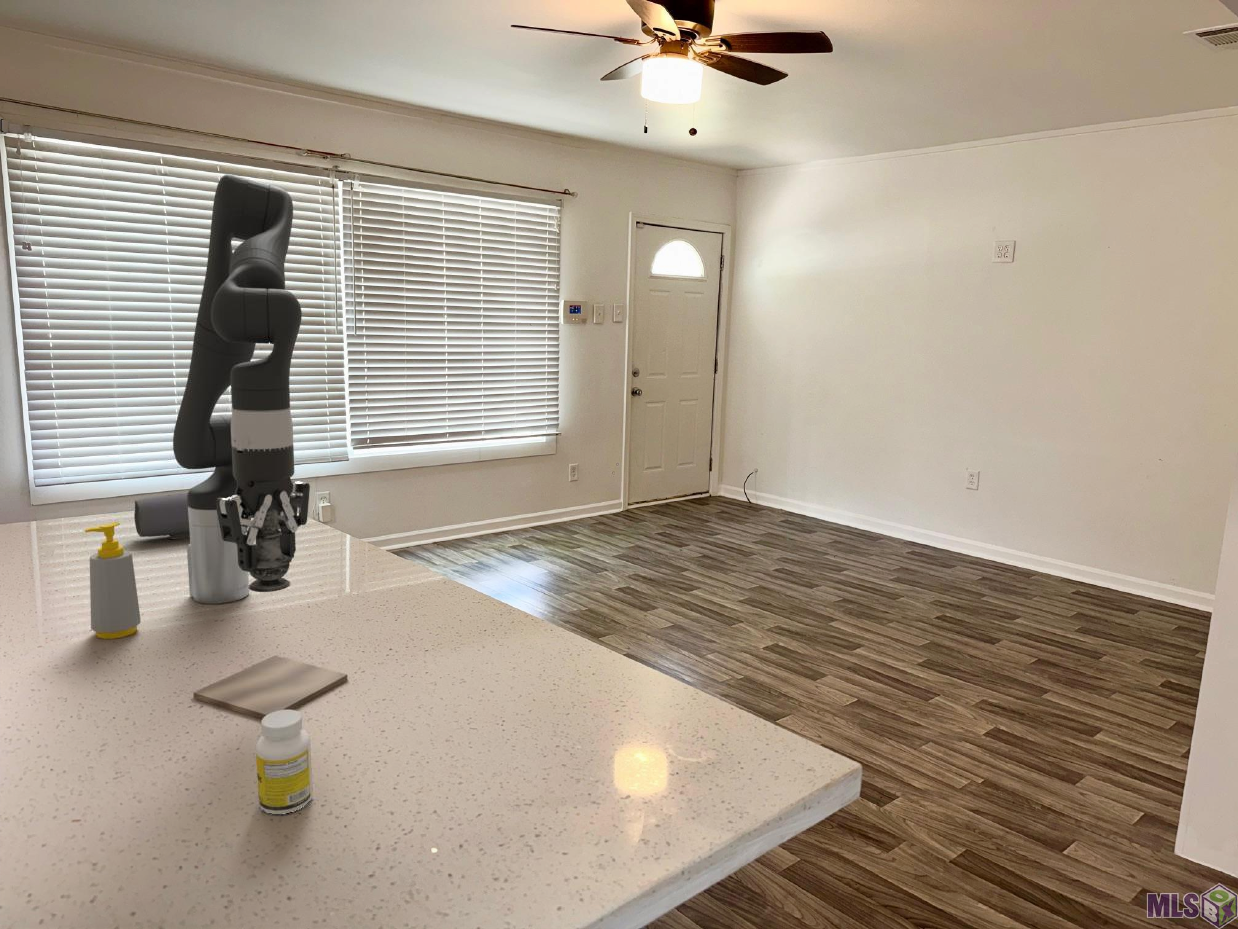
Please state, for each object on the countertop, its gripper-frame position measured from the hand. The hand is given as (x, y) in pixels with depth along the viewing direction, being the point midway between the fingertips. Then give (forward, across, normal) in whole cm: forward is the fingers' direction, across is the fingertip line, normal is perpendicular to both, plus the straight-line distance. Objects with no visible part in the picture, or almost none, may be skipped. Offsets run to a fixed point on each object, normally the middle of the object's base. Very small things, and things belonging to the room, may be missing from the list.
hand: (268, 563), depth 111 cm
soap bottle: (+18, -3, -37) cm, 41 cm away
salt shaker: (+3, 0, 0) cm, 3 cm away
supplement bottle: (+18, +19, +22) cm, 34 cm away
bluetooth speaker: (+19, -49, -76) cm, 92 cm away
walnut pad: (+18, 0, 0) cm, 18 cm away
